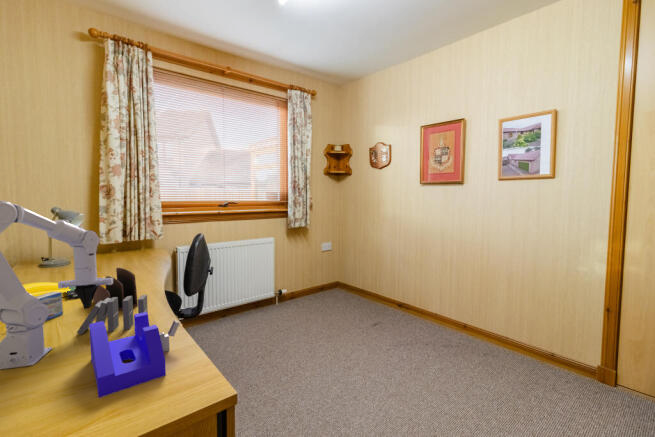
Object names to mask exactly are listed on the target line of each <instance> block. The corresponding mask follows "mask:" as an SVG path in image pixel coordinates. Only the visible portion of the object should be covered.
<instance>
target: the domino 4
mask: <svg viewBox="0 0 655 437" xmlns="http://www.w3.org/2000/svg"><path fill="white" fill-rule="evenodd" d="M122 304H123V310H122V319H123V320H122V321H123V322H122V323H123V324H122V325H123V331H128V330H130V329H131V328H132V327H133V326H134V307H133V299H132V296H127V297H126V298H125V299H124V300H123V301H122Z"/></svg>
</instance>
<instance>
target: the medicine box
mask: <svg viewBox="0 0 655 437" xmlns="http://www.w3.org/2000/svg"><path fill="white" fill-rule="evenodd" d="M35 297H36V298H37V299H38V301H39V302H40V303H42V304H45V305H46V306H47V307H48V309H49V315H48V317H47V319H46V321H45V322H47V321H49V320H52V319H54V318H57V317H60V316H63V315H64V311H63V309H64V308H63V307H64V306H63V293H62V292H61V291H51V292H47V293H44V294H41V295H37V296H35Z"/></svg>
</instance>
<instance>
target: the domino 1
mask: <svg viewBox="0 0 655 437" xmlns="http://www.w3.org/2000/svg"><path fill="white" fill-rule="evenodd" d="M102 302H103V301H100V302H98V303H97V304H94V306H92V307H93V308H92V309H91V310H90V311H89V313H88V315H87V317H86V318H85V319H84V320H83V322H82V324H81V326H80V327H79V329H78V330H77V332H76V333H77V334H79V335H83V334H85V332H86V331H87V330H89V324H92V323H94V320H96V318H97V315H98V312H99V309H100V306H101V303H102Z"/></svg>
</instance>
